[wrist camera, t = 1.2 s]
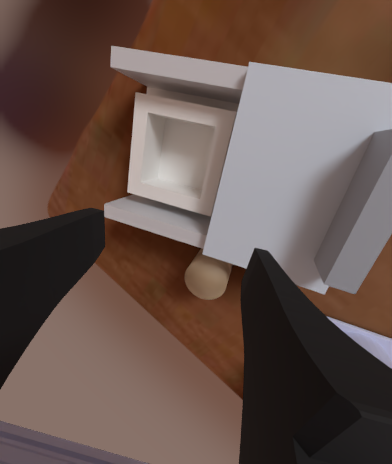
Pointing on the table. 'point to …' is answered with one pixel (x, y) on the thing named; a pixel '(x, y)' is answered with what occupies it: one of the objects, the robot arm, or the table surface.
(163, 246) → the table surface
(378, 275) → the table surface
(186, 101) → the housing
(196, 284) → the beige cylinder
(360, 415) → the robot arm
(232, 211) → the lid
